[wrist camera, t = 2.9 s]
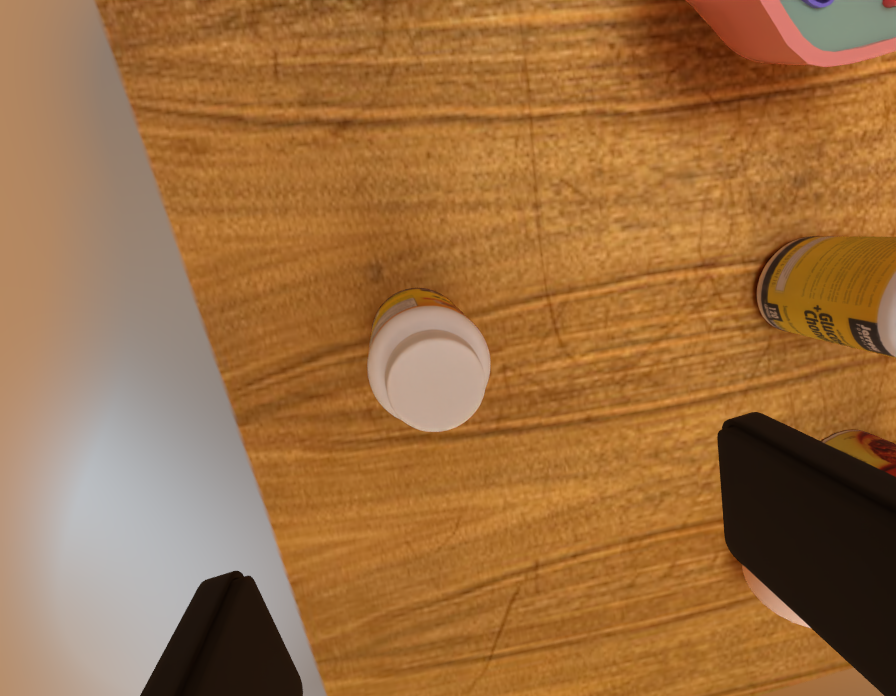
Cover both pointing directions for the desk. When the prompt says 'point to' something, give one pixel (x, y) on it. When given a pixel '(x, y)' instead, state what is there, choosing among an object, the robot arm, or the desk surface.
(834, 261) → the pill bottle
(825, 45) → the cell model
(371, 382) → the supplement bottle
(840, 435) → the canned food
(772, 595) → the egg
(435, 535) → the desk surface
